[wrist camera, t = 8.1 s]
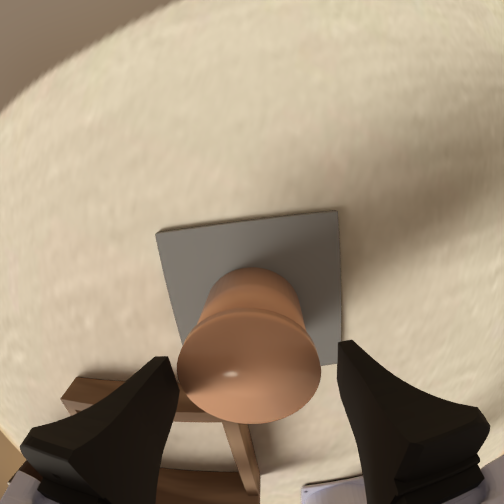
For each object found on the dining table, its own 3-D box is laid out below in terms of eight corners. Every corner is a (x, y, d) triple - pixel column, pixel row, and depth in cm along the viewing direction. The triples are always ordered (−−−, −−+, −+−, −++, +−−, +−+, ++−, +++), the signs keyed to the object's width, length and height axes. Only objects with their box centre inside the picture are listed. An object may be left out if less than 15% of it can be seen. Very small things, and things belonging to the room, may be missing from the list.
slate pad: (338, 359, 19) (340, 362, 18) (193, 372, 19) (192, 376, 19) (335, 210, 16) (337, 211, 15) (157, 232, 16) (154, 233, 16)
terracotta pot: (302, 350, 18) (314, 421, 12) (207, 352, 18) (189, 421, 13) (305, 261, 16) (327, 314, 11) (196, 264, 17) (165, 317, 11)
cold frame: (260, 475, 24) (259, 532, 17) (133, 468, 24) (117, 515, 18) (237, 381, 19) (229, 462, 13) (76, 377, 20) (37, 431, 14)
